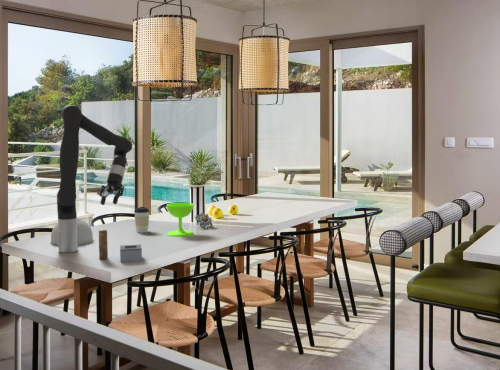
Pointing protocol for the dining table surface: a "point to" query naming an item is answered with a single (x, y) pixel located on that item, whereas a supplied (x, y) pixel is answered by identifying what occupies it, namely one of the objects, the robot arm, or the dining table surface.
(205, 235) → the dining table surface
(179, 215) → the wineglass
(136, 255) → the collar
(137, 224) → the coffee cup
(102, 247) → the walnut peg
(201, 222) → the passion flower
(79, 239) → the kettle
